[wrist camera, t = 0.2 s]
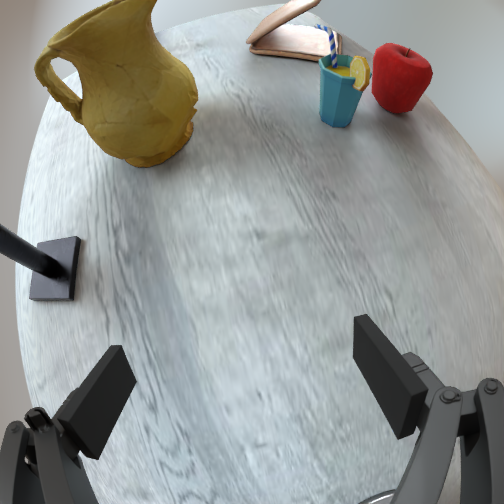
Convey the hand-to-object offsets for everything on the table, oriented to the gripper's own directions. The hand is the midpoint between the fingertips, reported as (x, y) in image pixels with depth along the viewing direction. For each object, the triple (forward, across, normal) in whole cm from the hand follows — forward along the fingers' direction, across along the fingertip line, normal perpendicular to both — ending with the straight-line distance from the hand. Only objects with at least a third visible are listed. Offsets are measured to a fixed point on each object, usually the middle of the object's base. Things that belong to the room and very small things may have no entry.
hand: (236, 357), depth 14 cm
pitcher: (+32, +12, -20) cm, 39 cm away
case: (+48, -19, -43) cm, 67 cm away
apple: (+34, -31, -22) cm, 51 cm away
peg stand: (+19, +28, -3) cm, 34 cm away
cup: (+32, -18, -19) cm, 41 cm away
